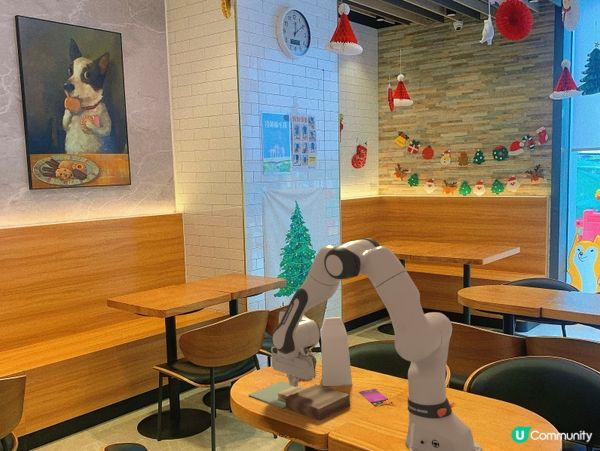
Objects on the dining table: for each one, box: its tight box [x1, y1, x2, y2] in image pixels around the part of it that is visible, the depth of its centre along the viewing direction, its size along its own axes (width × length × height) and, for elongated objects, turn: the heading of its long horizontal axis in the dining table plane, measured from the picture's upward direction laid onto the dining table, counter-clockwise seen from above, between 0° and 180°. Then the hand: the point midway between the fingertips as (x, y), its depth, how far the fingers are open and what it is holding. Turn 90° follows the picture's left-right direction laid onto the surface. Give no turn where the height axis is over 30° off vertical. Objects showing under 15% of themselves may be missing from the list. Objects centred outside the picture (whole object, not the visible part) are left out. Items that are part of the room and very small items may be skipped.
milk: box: [320, 316, 353, 387], centre depth 229 cm, size 12×12×26 cm
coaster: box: [278, 387, 302, 400], centre depth 213 cm, size 8×8×2 cm
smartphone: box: [358, 388, 389, 407], centre depth 209 cm, size 7×15×1 cm, turn 17°
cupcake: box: [303, 347, 318, 373], centre depth 241 cm, size 10×10×10 cm
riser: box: [285, 384, 351, 421], centre depth 204 cm, size 17×16×4 cm
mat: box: [248, 380, 306, 409], centre depth 218 cm, size 20×18×1 cm
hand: (293, 385), depth 213 cm, fingers closed
